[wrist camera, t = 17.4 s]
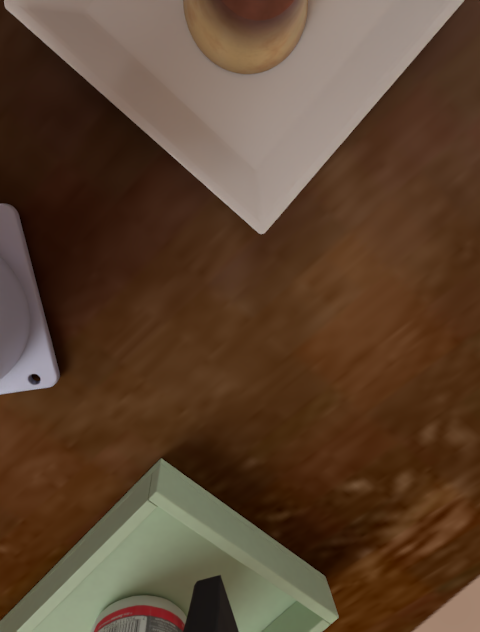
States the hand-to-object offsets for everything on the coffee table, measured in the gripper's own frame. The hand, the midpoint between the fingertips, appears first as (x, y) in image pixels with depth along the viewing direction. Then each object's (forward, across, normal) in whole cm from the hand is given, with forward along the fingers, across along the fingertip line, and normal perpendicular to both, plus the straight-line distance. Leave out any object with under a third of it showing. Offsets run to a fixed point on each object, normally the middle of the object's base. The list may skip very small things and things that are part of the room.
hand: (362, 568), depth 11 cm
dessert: (+11, -2, -16) cm, 19 cm away
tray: (+10, +11, +12) cm, 19 cm away
